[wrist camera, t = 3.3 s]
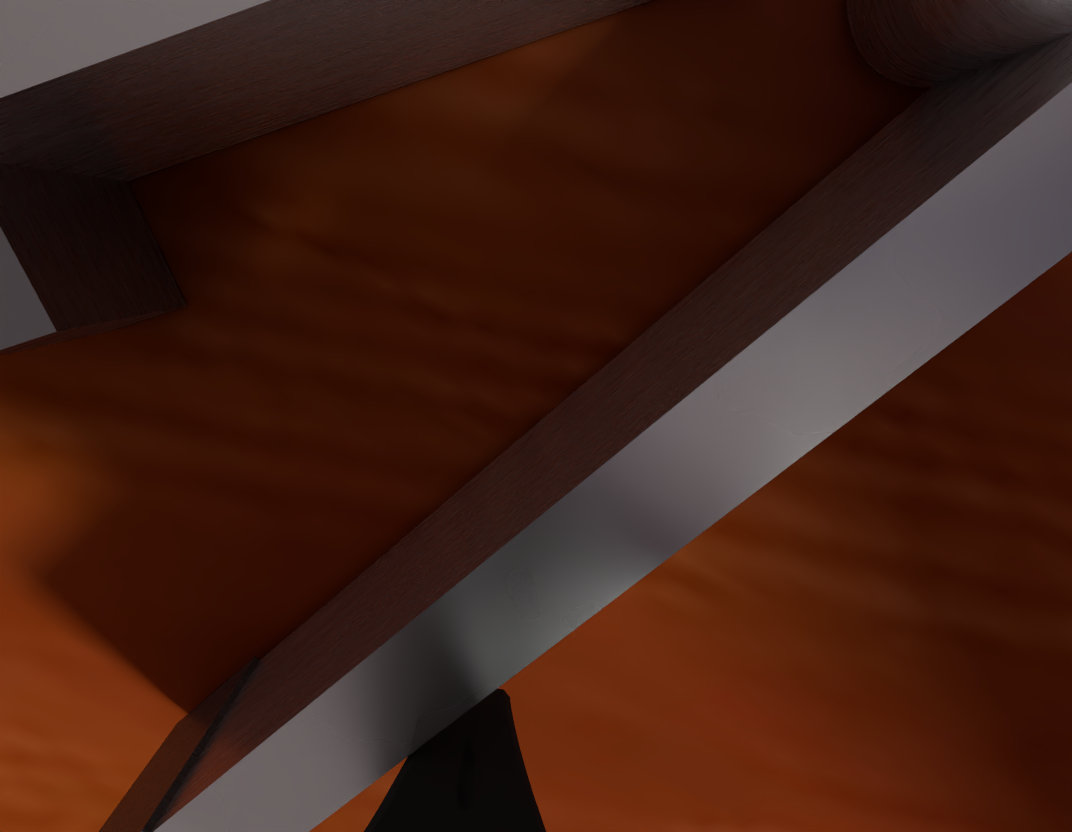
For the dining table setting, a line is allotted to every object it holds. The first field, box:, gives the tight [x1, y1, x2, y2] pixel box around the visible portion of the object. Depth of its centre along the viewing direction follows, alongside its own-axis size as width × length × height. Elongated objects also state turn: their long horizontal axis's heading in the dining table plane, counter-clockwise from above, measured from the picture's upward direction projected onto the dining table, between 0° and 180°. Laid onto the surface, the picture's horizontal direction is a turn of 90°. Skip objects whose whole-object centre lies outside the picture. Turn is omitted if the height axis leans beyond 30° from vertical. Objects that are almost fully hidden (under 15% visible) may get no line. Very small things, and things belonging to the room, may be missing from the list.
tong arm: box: [99, 0, 1072, 832], centre depth 7 cm, size 16×3×3 cm, turn 132°
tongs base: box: [0, 0, 651, 355], centre depth 6 cm, size 17×4×4 cm, turn 107°
